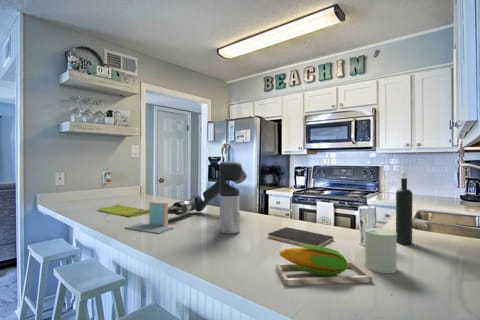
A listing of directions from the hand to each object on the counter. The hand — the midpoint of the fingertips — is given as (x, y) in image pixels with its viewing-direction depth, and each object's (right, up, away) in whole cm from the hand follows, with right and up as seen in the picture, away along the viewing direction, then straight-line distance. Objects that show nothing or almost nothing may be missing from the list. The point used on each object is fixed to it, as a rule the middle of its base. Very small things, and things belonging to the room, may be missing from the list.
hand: (161, 212), depth 141 cm
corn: (+63, -6, -59) cm, 86 cm away
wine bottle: (+109, -7, -30) cm, 113 cm away
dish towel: (-34, -7, +33) cm, 48 cm away
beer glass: (+93, -7, -31) cm, 98 cm away
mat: (-4, -6, -8) cm, 11 cm away
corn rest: (+65, -6, -61) cm, 89 cm away
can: (+86, -7, -55) cm, 102 cm away
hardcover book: (+67, -7, -25) cm, 72 cm away
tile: (-1, -6, -2) cm, 7 cm away
